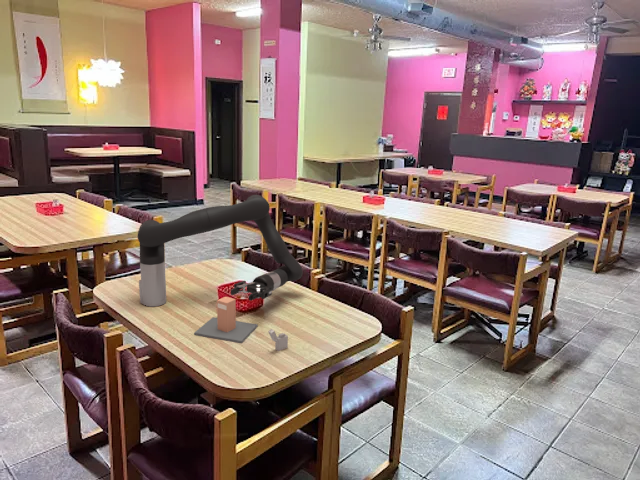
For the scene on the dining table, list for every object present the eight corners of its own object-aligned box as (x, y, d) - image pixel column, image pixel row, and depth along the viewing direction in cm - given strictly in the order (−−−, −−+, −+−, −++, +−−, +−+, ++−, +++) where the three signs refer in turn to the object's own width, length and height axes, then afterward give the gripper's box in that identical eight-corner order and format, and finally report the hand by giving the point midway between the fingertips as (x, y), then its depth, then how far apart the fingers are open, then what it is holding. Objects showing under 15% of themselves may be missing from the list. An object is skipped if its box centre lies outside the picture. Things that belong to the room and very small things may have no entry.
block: (217, 329, 172) (216, 300, 169) (226, 324, 176) (225, 296, 173) (227, 332, 170) (226, 303, 167) (235, 327, 174) (235, 299, 171)
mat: (194, 334, 169) (194, 332, 169) (213, 319, 182) (213, 317, 182) (241, 343, 164) (241, 341, 164) (257, 326, 177) (257, 324, 177)
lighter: (284, 345, 164) (285, 323, 162) (287, 347, 163) (288, 325, 161) (267, 351, 160) (268, 329, 157) (270, 353, 158) (271, 331, 156)
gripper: (252, 270, 193) (225, 281, 179) (282, 278, 186) (256, 290, 173) (252, 288, 195) (225, 300, 181) (281, 296, 188) (255, 309, 175)
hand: (240, 295), depth 177 cm, fingers open, 8 cm apart
